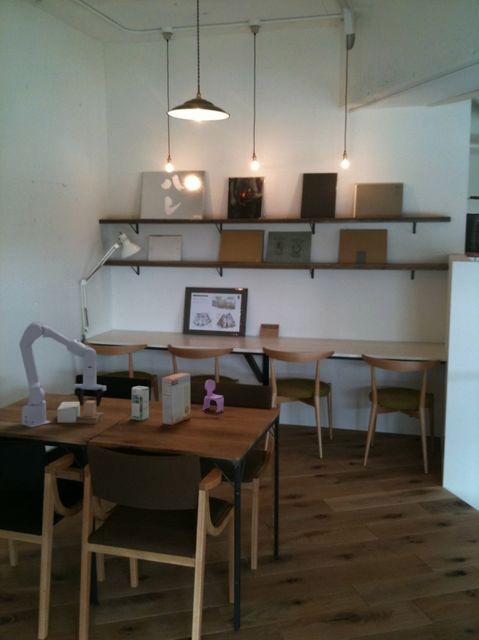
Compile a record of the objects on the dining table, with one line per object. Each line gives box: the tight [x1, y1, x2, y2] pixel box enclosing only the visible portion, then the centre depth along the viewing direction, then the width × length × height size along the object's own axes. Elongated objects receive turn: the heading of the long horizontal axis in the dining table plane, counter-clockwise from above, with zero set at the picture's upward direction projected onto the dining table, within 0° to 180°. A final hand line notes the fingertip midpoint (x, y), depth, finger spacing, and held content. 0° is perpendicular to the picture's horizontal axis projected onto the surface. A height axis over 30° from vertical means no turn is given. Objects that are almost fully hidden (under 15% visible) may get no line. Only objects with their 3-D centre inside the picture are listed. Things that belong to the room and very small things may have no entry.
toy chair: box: [201, 379, 225, 413], centre depth 271 cm, size 8×9×15 cm
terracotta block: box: [83, 400, 97, 416], centre depth 252 cm, size 4×4×6 cm
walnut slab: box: [76, 411, 105, 425], centre depth 252 cm, size 9×9×3 cm
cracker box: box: [161, 372, 191, 426], centre depth 253 cm, size 14×6×21 cm, turn 149°
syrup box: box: [131, 385, 150, 421], centre depth 256 cm, size 6×6×14 cm
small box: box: [56, 401, 81, 424], centre depth 254 cm, size 8×6×13 cm
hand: (89, 405), depth 251 cm, fingers open, 7 cm apart
